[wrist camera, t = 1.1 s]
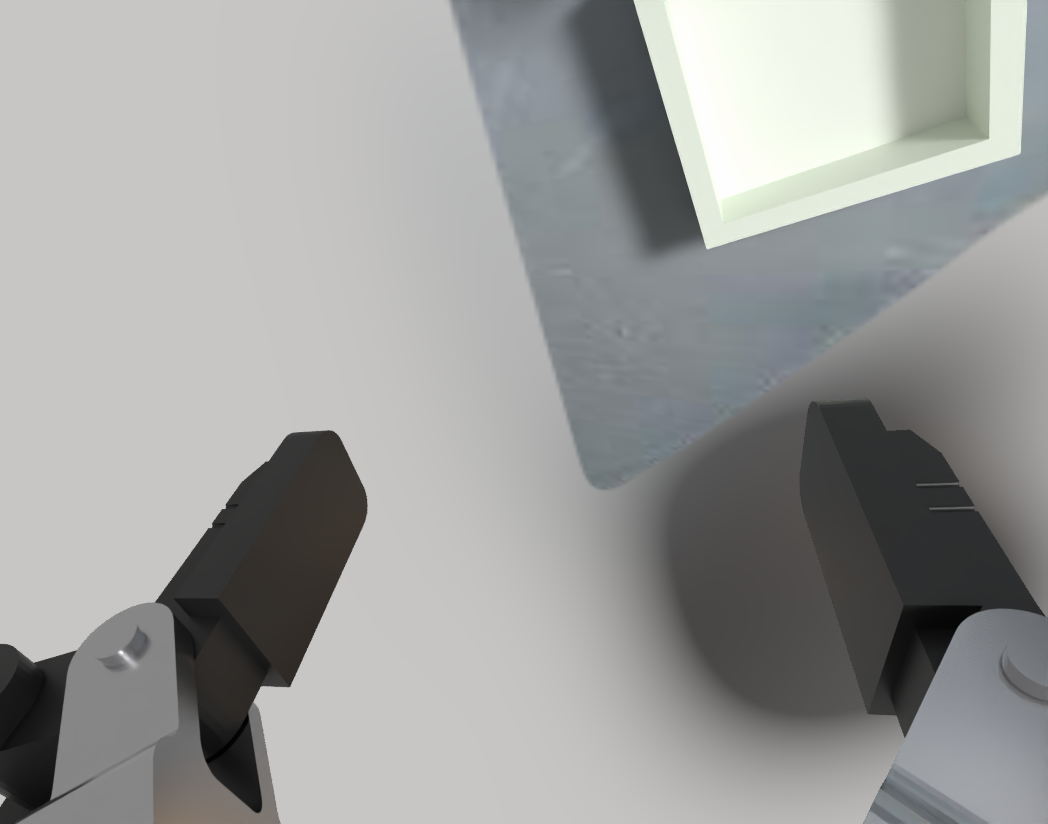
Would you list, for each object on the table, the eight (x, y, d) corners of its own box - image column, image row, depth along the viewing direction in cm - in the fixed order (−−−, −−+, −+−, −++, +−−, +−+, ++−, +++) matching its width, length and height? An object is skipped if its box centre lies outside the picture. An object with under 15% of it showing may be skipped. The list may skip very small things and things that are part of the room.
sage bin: (629, -49, 24) (622, -37, 21) (992, -249, 19) (1038, -264, 16) (705, 216, 31) (706, 249, 28) (988, 124, 25) (1020, 153, 23)
